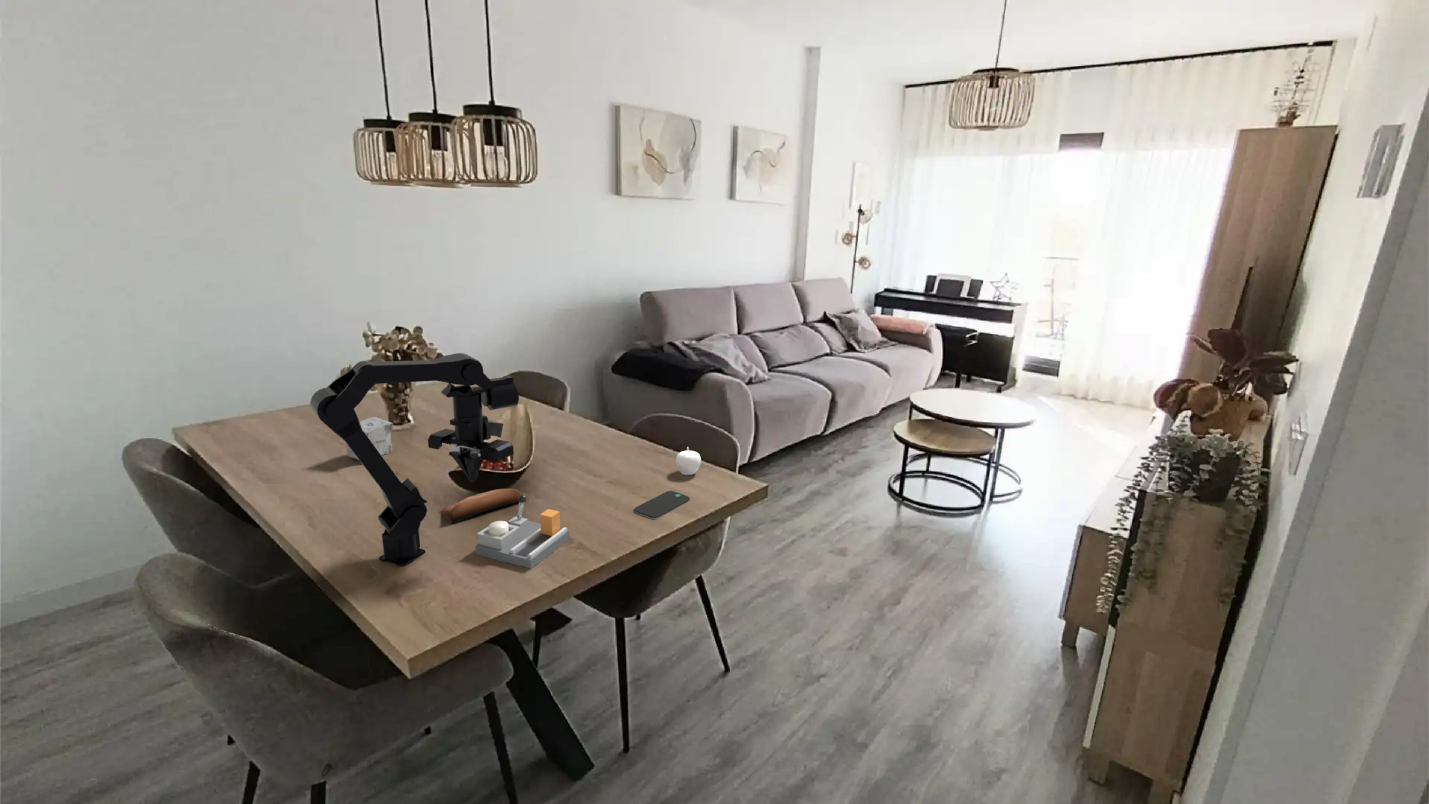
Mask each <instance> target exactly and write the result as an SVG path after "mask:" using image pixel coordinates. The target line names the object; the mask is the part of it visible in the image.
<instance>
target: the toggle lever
mask: <svg viewBox="0 0 1429 804" xmlns="http://www.w3.org/2000/svg"><path fill="white" fill-rule="evenodd" d="M518 500H519V502H518V510H517V514H516V515H517V518H519V519H521V518H523V510H524V505H525V503H526V501H527V496H526V495H524V494H521V495H520V496H519V498H518Z"/></svg>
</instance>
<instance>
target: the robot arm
mask: <svg viewBox="0 0 1429 804" xmlns="http://www.w3.org/2000/svg"><path fill="white" fill-rule="evenodd" d="M483 367H484V366H483V364H482V363H481V362H480V361H479V360H478V359H476V358H474V357H472V356H471V355H469V354H467V353H464V352H462V353H461V352H459V353H452V354H447V355H443V356H441V357H438V358H434V359H428V360H427V359H425V360H424V359H421V360H395V361H393V360H392V361H391V360H387V361H370V360H369V361H368V360H361V361H359V362H357V363H355V364H354V366H353V367H351V368H350V369H349V370H348V371H346V372H345V373H343V374H342V375H340V376H339V377H337V378H336V379H334V380H333V381H332V382H331V383H330V384H329V385H327V386H326V387H323V388H321V389H318V390H317V391H315V392H314V393H313V395H312V396H311V398H310V402H309V404H310V407H311V410H312V411H313V412H314V414H315V415H316V416H317V418H318V419H319V420H320V421H321V422H322V423H323V424H325V426H327V427H328V428H329V429H330V430H331V431H332V432H334V433H335V434H336V435H337V436H338V437H340V438H341V439H342V440H343V442H345V444H346V446H347V445H348V446H349V447H350V449H351V450H352V451H353V453H354V454H355V455H356V457H357V458H358V459H359V460H358V461H359V462H360V463H361V464H362V466H363V467H364V468H365V470H366V471H367V473H368V474H369V475H370V476H371V477H372V479H373V481H375V483H376V484H377V485H378V486H379V489H380V491H381V494H382V496H383V498H384V500H385V502H386V507H385V508H384V509H383V511H381V513H380V514H379V515H378V516H377V519H378V521H379V523H380V524H381V526H383V528H384V531H383V533H381V539H382V540H381V541H382V549H383V554H381V555H379V556H378V560H379V561H382V562H386V563H389V564H393V565H396V566H400V567H403V566H405V565H407V564H409V563H410V562H412V561H413V560H415V559H417V558H419V557H420V556H421V555H424V554H425V553H426V549H425V548H424V549H423V548H421V539H420V532H419V531H420V527H421V523H422V521H423V520H424V519H425V517H426V516H427V513H428V508H427V505H426V504H427V503H428V501H427V499H426V498H425V497H424V496H423V495H422V494H421V493H420V491H419V489H418V487H417V486H416V485H415V484H414V483H413V482H412V481H411V480H410V479H409V478H406V479H405V480H404V481H402V480H400V479H399V478H398V476H397V475H396V473H395V472H394V471H393V470H392V468H391V467H390V466H389V464H388V463H387V461H386V460H385V458H384V457H383V455H380V453H379V452H378V450H377V449H376V448H375V446H374V445H373V444H372V442H371V441H370V440H369V438H368V437H367V436H366V434H365V433H364V431H363V430H362V428H361V425H360V419H359V417H358V415H357V413H356V412H357V411H356V410H355V408H356V407H357V406H359V404H360V403H361V402H362V400H364V398H365V397H366V395H367V394H368V393H369V391H370V390H371V389H372V388H373V387H374V386H375V385H377V384H379V385H380V384H396V383H397V384H398V383H400V384H401V383H416V382H418V383H419V382H441V383H447V385H446V387H444V388H443V389H442V390H441V392H440V394H441V395H443V396H444V397H446V398H452V409H453V410H452V411H453V418H451V419H449V425H451V426H454V429H449V428H444V429H441V430H439V431H437V432H434V433H431V434H429V436H428V438H427V445H428V449H429V448H430V449H433V450H439V449H441V448H442V447H443V444H445V445H449V446H450V452H448V455H449V456H450V457H452V459H454V461H455V462H456V464H457V465H458V467H459V468H460V469H461V471H462V472H463V474H464V475H465V477H466V478H467V480H468V481H469V482H470V483H475V482H476V481H477V479H478V476H479V473H480V469H481V467H482V464H483V461H487V462H491V463H498V462H500V461H502V460H504V459H506V458H508V457H510V456H512V455H514V453H515V451H514V450H515V449H514V444H513V443H512V442H511V441H507V440H502V439H498V438H502V434H503V428H504V423H503V422H497V421H494V420H489V418H488V416H487V415H484V414H483V406H484V407H487V409H488V410H489V411H494V410H501V409H507V408H513V407H517V406H518V404H519V400H520V395H519V393H518V389H517V386H516V384H515V382H514V377H512V376H511V375H503V376H500V377H495V378H489V377H488V375H486V374H485V373H484V368H483ZM471 386H473V387H471ZM492 437H498V438H497V439H495V440H492V441H490V442H488V440H491V439H492Z"/></svg>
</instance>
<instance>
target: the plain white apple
mask: <svg viewBox="0 0 1429 804" xmlns="http://www.w3.org/2000/svg"><path fill="white" fill-rule="evenodd" d="M701 463H702V458H701V455H700V453H698V452H697V451H694V450H690V448H689V446H687V447H686V450H684V451H683V450H682V451H680V452H679V453H678V454H677V456H676V457H675V464H676V466H677V468H678V470H679V473H680V474H682V475H684V476H691V475H694V474H696V473H697V471H698V469H699V468H700V466H701Z"/></svg>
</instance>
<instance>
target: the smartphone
mask: <svg viewBox="0 0 1429 804" xmlns="http://www.w3.org/2000/svg"><path fill="white" fill-rule="evenodd" d="M688 501H689V502H690V501H691V498H690V496H688V495H685V494H683V493H680V492H677V491H675V490H674V491H673V490H668V491H665V492H663V493H661V494H659V495H657V496H655V497H653V498H651V499H649V500H647V501H645V502H643V503H641V504H639V505H637V506H635V508H633V512H634V513H635V514H637V515H639V516H642V517H645V518H647V519H651V520H657V519H659V518H662V517H664V516H666V515H667V514H669V513H671V512H673V511H675V510H677V509H678V508H680V507H682V506H684V505H685V503H686V504H687V502H688ZM689 502H688V503H689ZM683 504H684V505H683ZM676 508H677V509H676Z"/></svg>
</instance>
